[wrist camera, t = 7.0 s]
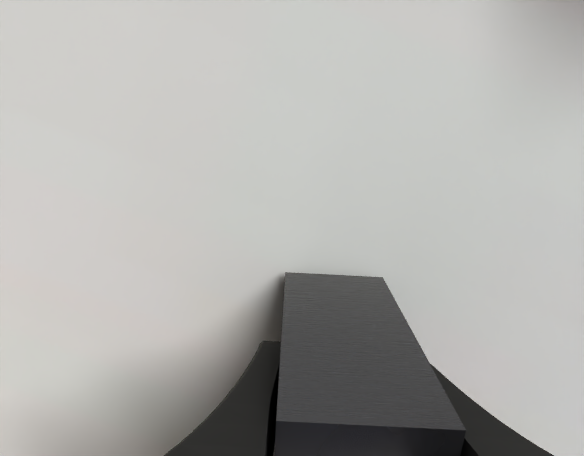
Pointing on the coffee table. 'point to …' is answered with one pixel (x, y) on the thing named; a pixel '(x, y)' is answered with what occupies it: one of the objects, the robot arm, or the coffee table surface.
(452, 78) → the coffee table surface
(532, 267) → the coffee table surface
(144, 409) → the coffee table surface
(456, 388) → the robot arm
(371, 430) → the dark grey mallet
